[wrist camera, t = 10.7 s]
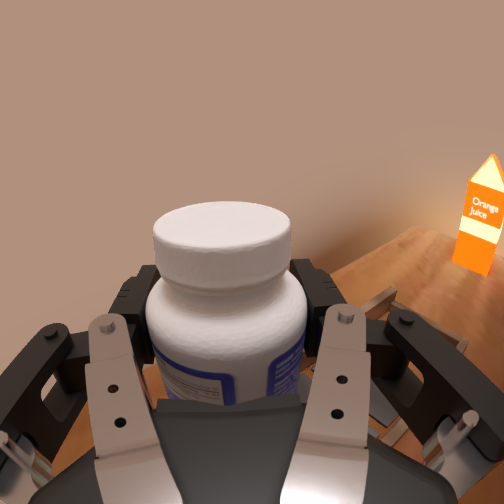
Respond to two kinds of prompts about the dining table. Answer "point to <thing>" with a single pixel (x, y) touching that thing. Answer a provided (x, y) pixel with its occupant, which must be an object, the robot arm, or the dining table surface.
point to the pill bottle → (226, 304)
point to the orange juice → (481, 218)
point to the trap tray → (378, 402)
